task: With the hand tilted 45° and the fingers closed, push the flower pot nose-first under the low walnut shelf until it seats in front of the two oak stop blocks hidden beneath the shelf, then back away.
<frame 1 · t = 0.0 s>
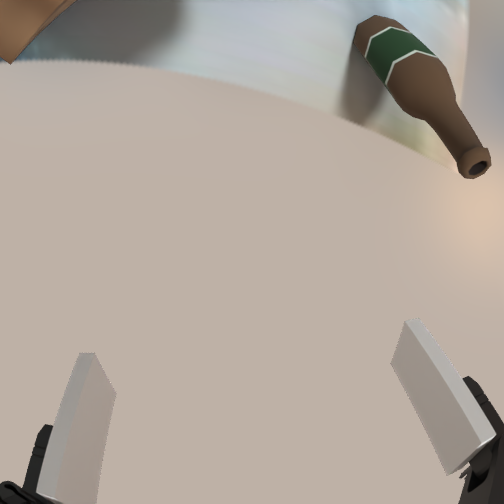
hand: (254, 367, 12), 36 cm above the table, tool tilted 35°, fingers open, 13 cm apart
beer bottle: (377, 36, 31), on the table
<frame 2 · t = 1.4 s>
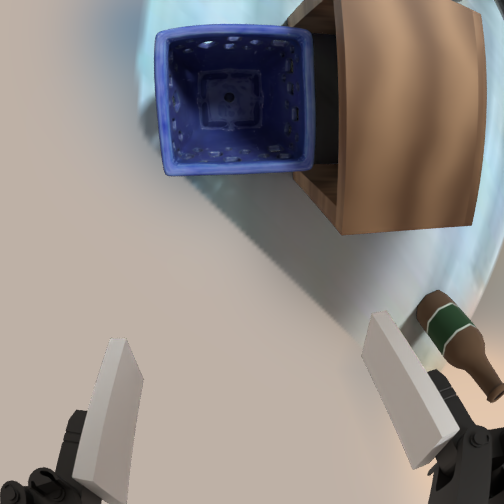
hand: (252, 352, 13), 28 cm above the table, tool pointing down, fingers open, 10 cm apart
beer bottle: (430, 304, 51), on the table
shelf: (315, 97, 33), on the table
flower pot: (231, 99, 33), on the table
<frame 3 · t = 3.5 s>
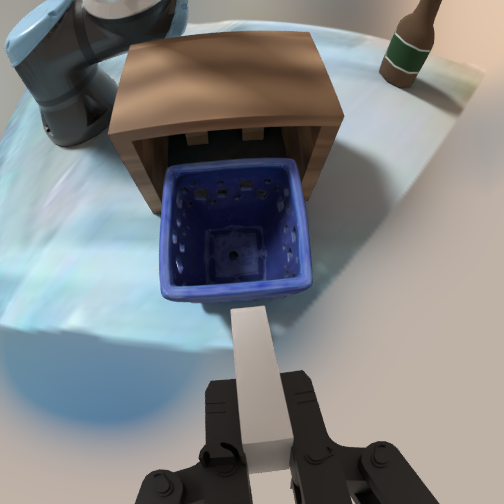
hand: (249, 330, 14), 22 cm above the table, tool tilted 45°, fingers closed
beer bottle: (394, 77, 51), on the table
shelf: (228, 185, 41), on the table
flower pot: (235, 258, 38), on the table
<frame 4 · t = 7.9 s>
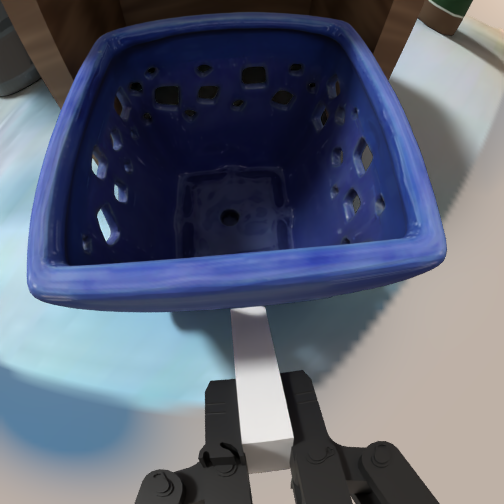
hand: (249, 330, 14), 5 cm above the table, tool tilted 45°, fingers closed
beer bottle: (433, 24, 33), on the table
shelf: (224, 119, 23), on the table
flower pot: (233, 226, 21), on the table, touching gripper
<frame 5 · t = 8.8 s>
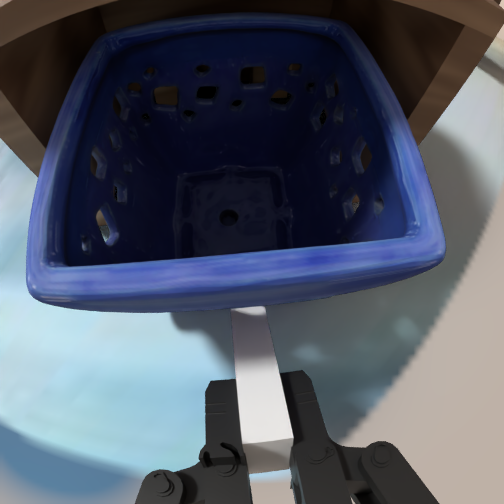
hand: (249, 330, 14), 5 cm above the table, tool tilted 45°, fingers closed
shelf: (228, 173, 22), on the table
flower pot: (232, 226, 21), on the table, touching gripper
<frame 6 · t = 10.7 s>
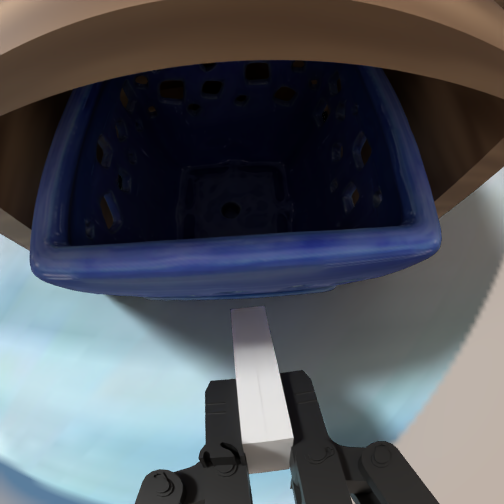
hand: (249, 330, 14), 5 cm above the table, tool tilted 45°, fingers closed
shelf: (236, 226, 20), on the table
flower pot: (234, 219, 21), on the table
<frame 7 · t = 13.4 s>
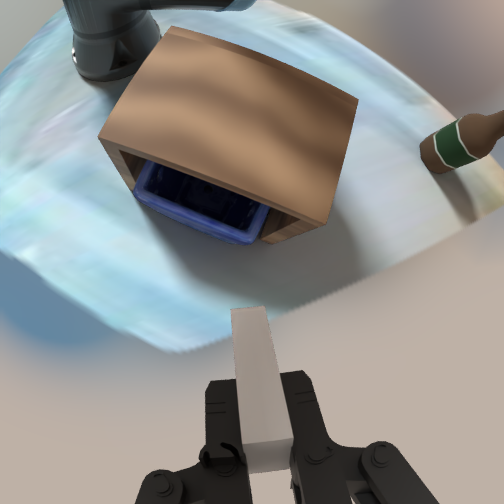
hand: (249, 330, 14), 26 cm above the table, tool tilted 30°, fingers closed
beer bottle: (431, 156, 50), on the table
shelf: (208, 195, 41), on the table
flower pot: (209, 192, 41), on the table
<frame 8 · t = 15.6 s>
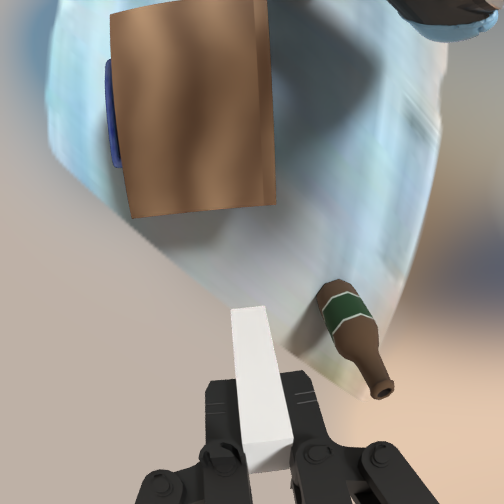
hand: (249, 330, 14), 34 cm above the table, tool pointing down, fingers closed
beer bottle: (334, 294, 57), on the table
shelf: (173, 106, 39), on the table
flower pot: (177, 105, 39), on the table
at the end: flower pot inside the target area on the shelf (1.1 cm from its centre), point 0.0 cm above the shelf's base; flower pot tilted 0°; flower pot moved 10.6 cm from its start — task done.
